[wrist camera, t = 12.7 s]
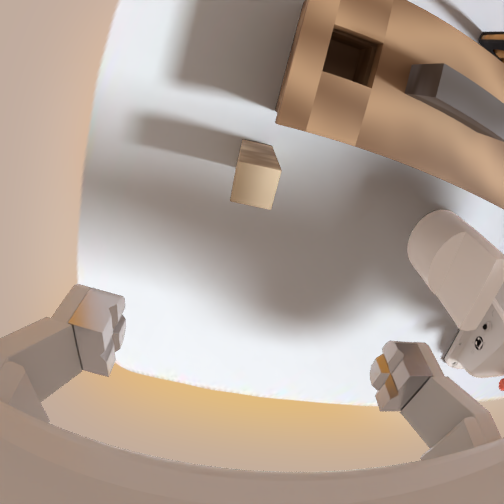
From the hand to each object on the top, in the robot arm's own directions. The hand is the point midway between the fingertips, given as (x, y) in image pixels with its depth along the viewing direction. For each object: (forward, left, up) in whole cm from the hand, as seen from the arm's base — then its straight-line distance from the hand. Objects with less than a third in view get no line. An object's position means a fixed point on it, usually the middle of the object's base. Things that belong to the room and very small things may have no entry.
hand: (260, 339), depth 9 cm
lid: (+11, -13, -17) cm, 24 cm away
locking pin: (0, 0, -25) cm, 25 cm away
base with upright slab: (-4, -25, -25) cm, 35 cm away
